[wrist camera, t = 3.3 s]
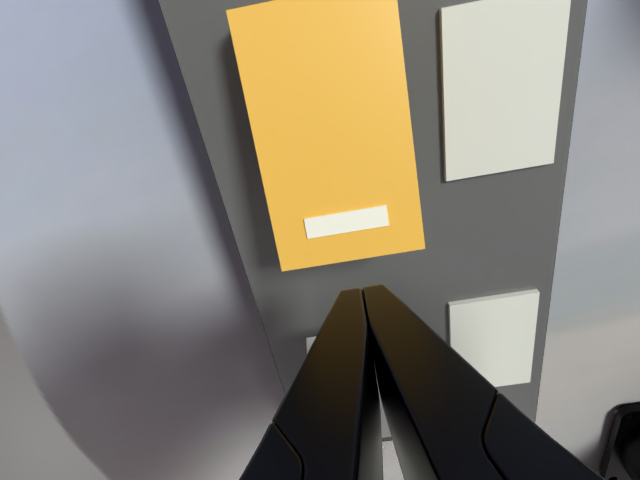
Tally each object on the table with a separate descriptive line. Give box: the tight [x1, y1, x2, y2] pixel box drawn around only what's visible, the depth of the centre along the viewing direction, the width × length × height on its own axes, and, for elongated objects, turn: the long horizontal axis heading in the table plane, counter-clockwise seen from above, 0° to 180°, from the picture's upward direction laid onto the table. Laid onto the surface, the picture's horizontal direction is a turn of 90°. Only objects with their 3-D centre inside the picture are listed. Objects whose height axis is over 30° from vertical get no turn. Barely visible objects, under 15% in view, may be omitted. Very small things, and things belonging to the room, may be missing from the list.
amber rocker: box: [226, 0, 425, 272], centre depth 10 cm, size 6×4×1 cm, turn 10°
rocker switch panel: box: [158, 0, 588, 442], centre depth 14 cm, size 20×10×4 cm, turn 10°
